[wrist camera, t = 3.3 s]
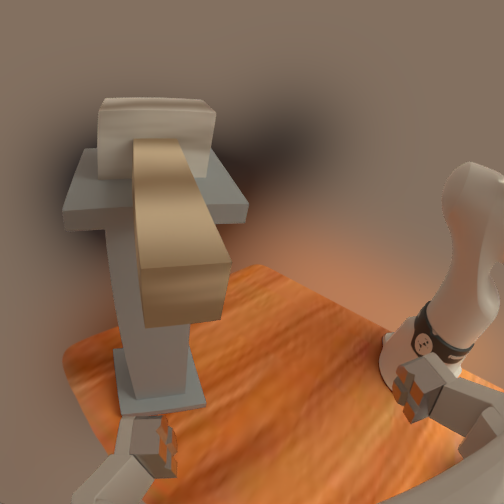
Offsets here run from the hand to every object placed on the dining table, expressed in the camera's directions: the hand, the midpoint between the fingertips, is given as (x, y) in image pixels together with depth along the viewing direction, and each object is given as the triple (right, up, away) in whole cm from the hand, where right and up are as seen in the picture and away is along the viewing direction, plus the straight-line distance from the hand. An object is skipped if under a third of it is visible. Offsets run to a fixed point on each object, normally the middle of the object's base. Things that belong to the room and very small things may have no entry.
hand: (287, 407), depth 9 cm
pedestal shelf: (-15, -14, +31) cm, 37 cm away
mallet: (-7, +8, +9) cm, 14 cm away
